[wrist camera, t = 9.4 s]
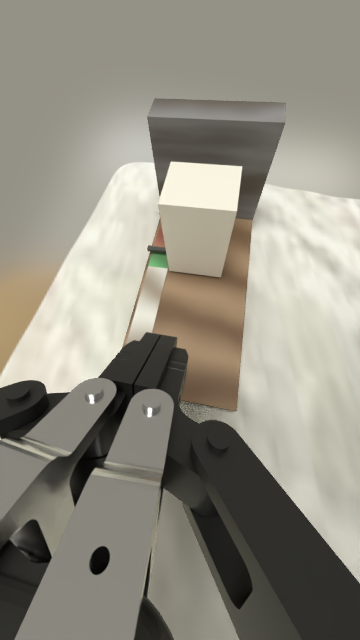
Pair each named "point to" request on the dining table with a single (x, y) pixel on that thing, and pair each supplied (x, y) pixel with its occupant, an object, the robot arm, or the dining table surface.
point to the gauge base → (230, 289)
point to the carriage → (198, 216)
